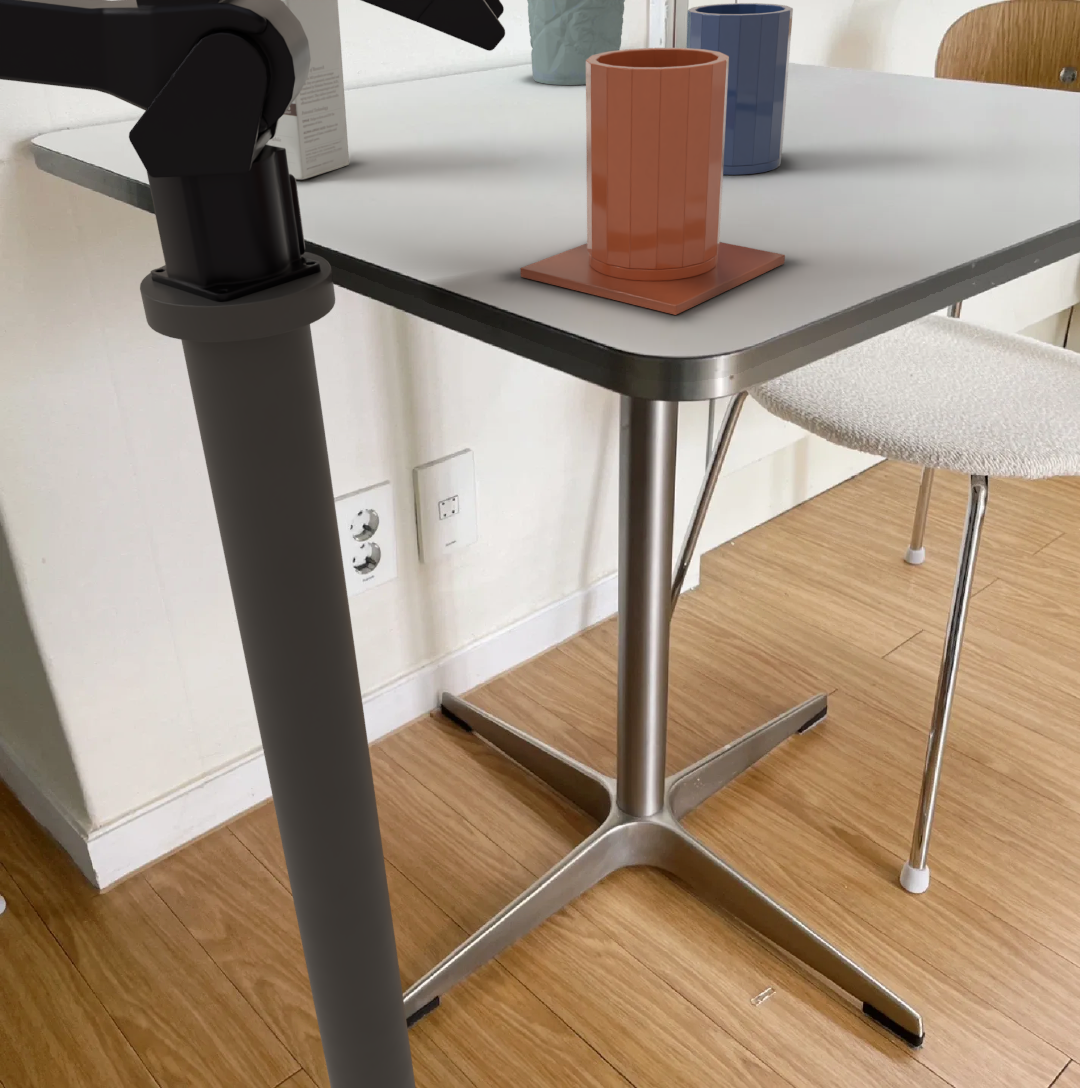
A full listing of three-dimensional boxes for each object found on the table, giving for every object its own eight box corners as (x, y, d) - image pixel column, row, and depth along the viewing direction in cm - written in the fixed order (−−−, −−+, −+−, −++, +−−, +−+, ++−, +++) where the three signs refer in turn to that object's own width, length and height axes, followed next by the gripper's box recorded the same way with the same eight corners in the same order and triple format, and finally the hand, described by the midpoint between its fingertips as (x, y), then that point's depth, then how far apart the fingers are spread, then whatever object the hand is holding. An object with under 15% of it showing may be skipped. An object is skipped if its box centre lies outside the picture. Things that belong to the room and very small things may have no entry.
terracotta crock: (576, 278, 59) (573, 68, 53) (601, 240, 64) (601, 47, 59) (710, 284, 57) (720, 69, 52) (723, 245, 63) (734, 47, 58)
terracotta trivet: (675, 315, 55) (676, 305, 55) (520, 277, 61) (519, 267, 60) (784, 263, 61) (785, 254, 61) (634, 233, 67) (634, 224, 67)
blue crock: (746, 179, 77) (756, 17, 72) (664, 166, 81) (668, 11, 76) (798, 160, 82) (811, 6, 76) (717, 149, 85) (725, 1, 80)
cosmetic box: (216, 172, 84) (177, -57, 76) (269, 155, 88) (237, -64, 81) (308, 182, 80) (277, -58, 73) (359, 164, 85) (334, -64, 77)
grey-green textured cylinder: (523, 72, 119) (519, -58, 113) (620, 67, 120) (620, -62, 114) (532, 88, 110) (528, -52, 104) (636, 83, 111) (638, -56, 105)
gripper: (310, -478, 38) (640, -110, 44) (364, -378, 54) (601, -118, 60) (124, -186, 42) (450, 117, 48) (227, -173, 58) (461, 52, 64)
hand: (498, 29), depth 55 cm, fingers open, 9 cm apart
